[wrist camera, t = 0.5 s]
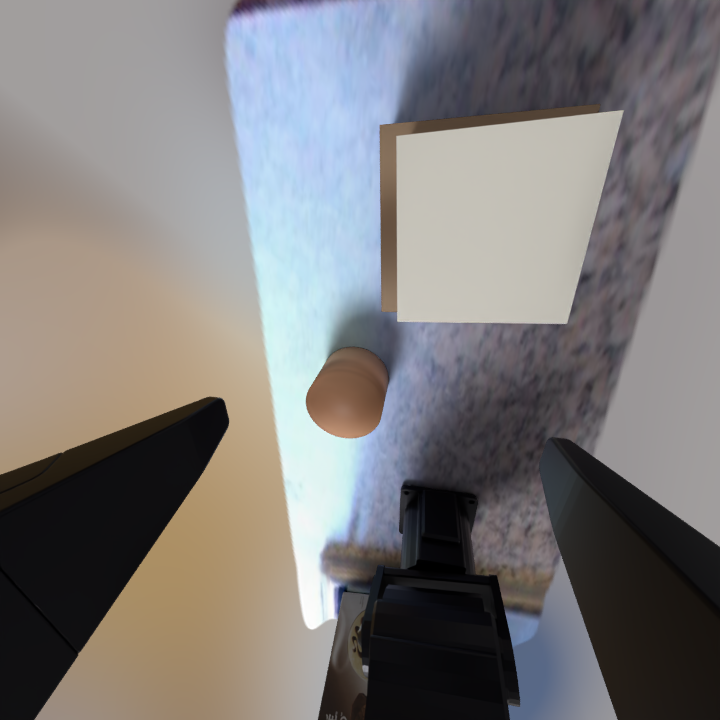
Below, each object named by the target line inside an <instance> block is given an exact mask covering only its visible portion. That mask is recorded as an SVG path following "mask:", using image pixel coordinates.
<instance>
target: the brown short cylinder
mask: <svg viewBox="0 0 720 720" xmlns="http://www.w3.org/2000/svg"><path fill="white" fill-rule="evenodd" d="M388 382H389V376H388V371H387V368H386V366H385V365H384V363H383V362H382V360H381V359H380V358H379V357H378V356H376V355H375V354H374V353H372V352H370V351H368V350H366V349H363V348H359V347H346V348H342V349H339V350H337V351H335V352H334V353H333V354H331V356H330V357H329V358H328V359H327V361H326V363H325V364H324V366H323V367H322V369H321V371H320V372H319V374H318V375H317V377H316V379H315V380H314V382H313V384H312V385H311V387H310V388H309V390H308V393H307V396H306V406H307V410H308V413H309V415H310V417H311V418H312V420H313V421H314V422H315V423H316V424H317V425H318V426H319V427H320V428H321V429H323V430H324V431H326V432H328V433H330V434H332V435H335V436H338V437H342V438H358V437H362V436H365V435H367V434H369V433H371V432H372V431H373V430H374V429H375V428H376V427H377V426H378V424H379V422H380V420H381V416H382V411H383V406H384V401H385V397H386V392H387V387H388Z"/></svg>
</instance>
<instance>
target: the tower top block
mask: <svg viewBox="0 0 720 720" xmlns="http://www.w3.org/2000/svg"><path fill="white" fill-rule="evenodd" d="M623 111H624V110H620V111H611V112H602V113H594V114H585V115H576V116H567V117H559V118H550V119H541V120H532V121H524V122H515V123H506V124H497V125H488V126H480V127H471V128H462V129H453V130H445V131H436V132H427V133H418V134H410V135H401V136H396V151H397V322H456V323H533V324H567V322H568V318H569V314H570V311H571V307H572V303H573V299H574V296H575V292H576V288H577V284H578V281H579V277H580V273H581V269H582V265H583V262H584V258H585V254H586V250H587V247H588V243H589V239H590V235H591V232H592V228H593V224H594V220H595V216H596V213H597V209H598V205H599V201H600V198H601V194H602V190H603V186H604V183H605V179H606V175H607V171H608V167H609V164H610V160H611V156H612V152H613V149H614V145H615V141H616V137H617V134H618V130H619V126H620V122H621V119H622V115H623Z"/></svg>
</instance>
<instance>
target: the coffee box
mask: <svg viewBox="0 0 720 720" xmlns="http://www.w3.org/2000/svg"><path fill="white" fill-rule="evenodd" d="M368 597H369V595H368V594H360V593H351V592H343V596H342V601H341V606H340V611H339V616H338V621H337V626H336V631H335V636H334V641H333V646H332V651H331V657H330V662H329V667H328V671H327V676H326V682H325V687H324V692H323V696H322V701H321V707H320V711H319V717H318V720H364V716H365V707H366V698H367V683H368V678H366V677H365V676H364V673H363V667H362V649H361V647H360V645H359V643H358V640H357V637H358V631H359V629H360V626H361V624H362V621H363V617H364V613H365V609H366V605H367V601H368Z"/></svg>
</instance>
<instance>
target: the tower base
mask: <svg viewBox="0 0 720 720" xmlns="http://www.w3.org/2000/svg"><path fill="white" fill-rule="evenodd" d="M599 108H600V104H595V105H584V106H574V107H563V108H553V109H542V110H532V111H521V112H511V113H500V114H490V115H479V116H469V117H458V118H448V119H437V120H427V121H416V122H406V123H395V124H385V125H380V203H381V305H382V312H397V151H396V136H401V135H410V134H418V133H427V132H436V131H445V130H453V129H462V128H471V127H480V126H488V125H497V124H506V123H515V122H524V121H532V120H541V119H550V118H559V117H567V116H576V115H585V114H594V113H598V112H599Z"/></svg>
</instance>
